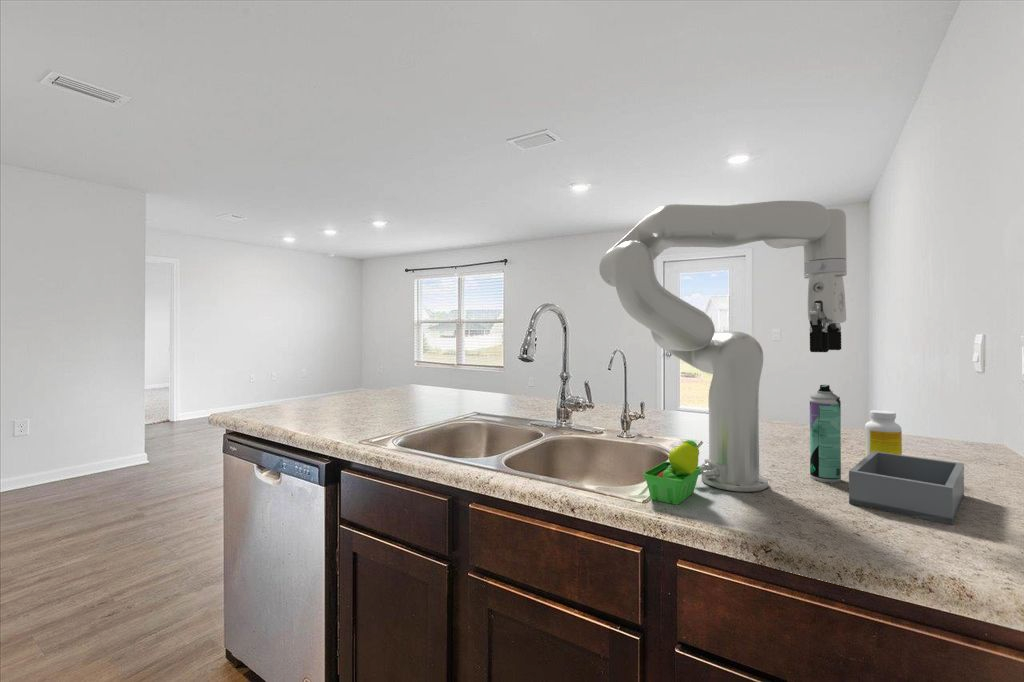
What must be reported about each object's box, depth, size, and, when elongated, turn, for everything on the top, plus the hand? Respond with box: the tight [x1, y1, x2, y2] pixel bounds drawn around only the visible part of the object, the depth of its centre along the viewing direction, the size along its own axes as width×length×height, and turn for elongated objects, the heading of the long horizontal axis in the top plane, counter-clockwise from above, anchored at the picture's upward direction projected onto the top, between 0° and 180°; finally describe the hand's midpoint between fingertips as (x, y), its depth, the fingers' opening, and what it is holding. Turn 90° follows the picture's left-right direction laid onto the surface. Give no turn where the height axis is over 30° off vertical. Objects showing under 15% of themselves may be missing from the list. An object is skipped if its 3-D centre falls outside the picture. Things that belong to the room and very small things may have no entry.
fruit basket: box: [643, 439, 701, 506], centre depth 93 cm, size 11×9×11 cm
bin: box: [848, 451, 965, 526], centre depth 90 cm, size 20×14×6 cm
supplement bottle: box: [864, 409, 903, 458], centre depth 110 cm, size 7×7×13 cm
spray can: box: [809, 384, 842, 484], centre depth 102 cm, size 6×6×20 cm
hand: (826, 350), depth 102 cm, fingers open, 9 cm apart
